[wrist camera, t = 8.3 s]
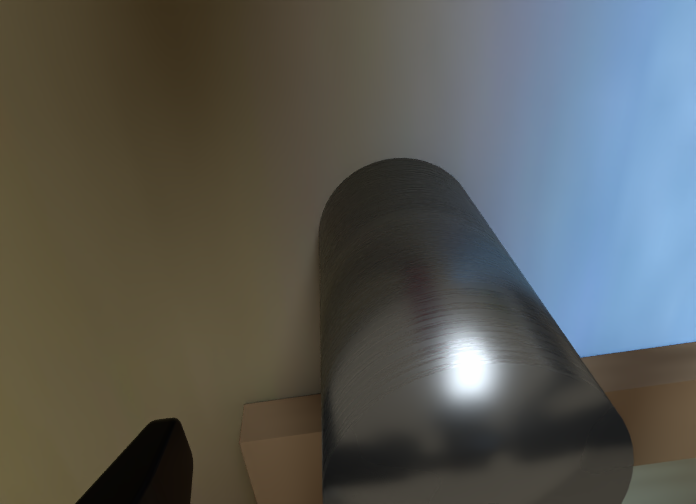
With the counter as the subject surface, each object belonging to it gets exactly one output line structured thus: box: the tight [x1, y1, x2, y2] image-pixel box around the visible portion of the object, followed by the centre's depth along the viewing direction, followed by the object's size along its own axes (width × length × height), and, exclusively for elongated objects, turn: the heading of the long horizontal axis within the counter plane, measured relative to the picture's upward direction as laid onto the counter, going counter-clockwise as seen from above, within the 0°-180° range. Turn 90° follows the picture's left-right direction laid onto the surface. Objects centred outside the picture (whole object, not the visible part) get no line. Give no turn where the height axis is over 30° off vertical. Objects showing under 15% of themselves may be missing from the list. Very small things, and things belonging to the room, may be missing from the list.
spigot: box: [319, 158, 634, 504], centre depth 11 cm, size 4×4×8 cm
